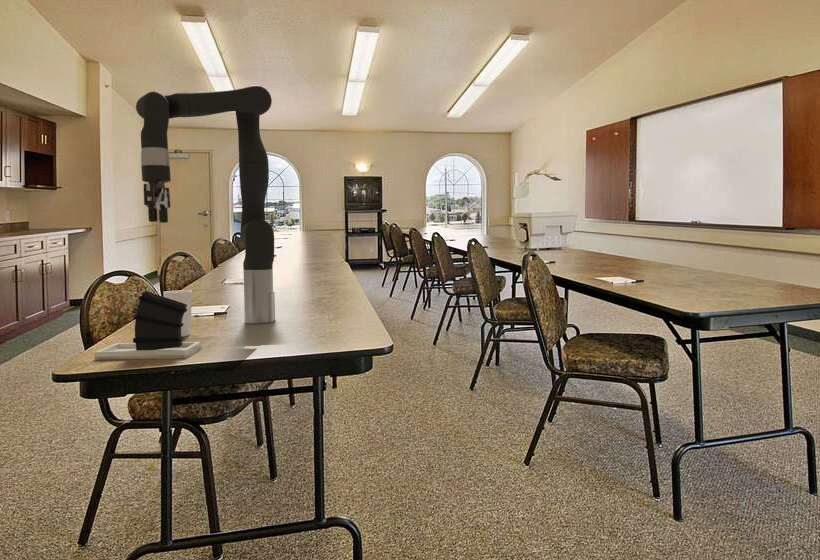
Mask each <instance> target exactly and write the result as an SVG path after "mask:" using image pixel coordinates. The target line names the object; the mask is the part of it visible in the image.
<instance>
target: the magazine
mask: <svg viewBox="0 0 820 560" xmlns="http://www.w3.org/2000/svg"><path fill="white" fill-rule="evenodd" d="M137 299H138V300H139V301H138V305H137V307H136V308H137V310H136V314H134V315H133V320H135V323H134V337H133V338H132V343H136V350H159V349H167V348H176V347H180V346H181V345H182V342H183V340H184V336H181V327H182V326H183V323H182V318H183V315H184V313H185V312H187V309H186V306H187V304H184V303H181V302H178V301H175V300H172V299H169V298H166V297H164V296H162V295H159V294H155V293H153V292H150V291H147V290H146V291H142V293H141V295H138V298H137Z"/></svg>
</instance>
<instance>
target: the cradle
mask: <svg viewBox="0 0 820 560" xmlns="http://www.w3.org/2000/svg"><path fill="white" fill-rule="evenodd" d="M200 348H201V349H202V342H201V341H182V345H181V346H180V347H176V348H167V349H159V350H136V343H133V342H124V343H123V342H120V343H119V342H117V343H114V344H111V345H108V346H106V347H103V348H101V349H98V350H96V351H94V361H106V360H107V361H109V360H110V361H113V360H117V361H119V360H157V359H158V360H161V359H163V360H165V359H166V360H167V359H188V358H190V356H192V355H195V353H197V352H199V351H200V350H201V349H200ZM199 349H200V350H199ZM198 350H199V351H198Z"/></svg>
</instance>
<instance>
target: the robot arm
mask: <svg viewBox="0 0 820 560" xmlns="http://www.w3.org/2000/svg"><path fill="white" fill-rule="evenodd" d="M272 100H273V99H272V96H271V94H270V92H269V91H268V90H267V88H265V87H263V86H261V85H257V84H253V85H249V86H247V87H246V86H245V87H242V88H238V89H230V90H218V91H217V90H215V91H187V92H186V91H185V92H184V91H183V92H182V91H181V92H176V93H172V94H169V95H168V94H167V95H164V94H163V93H162V92H159V91H149V92H147V93H146V94H144V95H142V96H141V97H140V98H139V99H137V101H136V104H135V109H136V114H138V116H140V117H141V118H142V119H143V127H142V129H141V130H140V146H141V149H140V151H141V152H140V167H141V180H142V182H144V183H143V205H144V206H146V208H147V209H148V212H147V213H148V214H147V215H148V221H149V222H150V223H152V222H153V223H155V222H156V223H157V222H158V221H159V223H162V224H163V223H168V222H169V214H168V213H169V211H168V210H169V209H170V208H171V197H170V196H171V195H170V188H169V187H166V185H165V184H166V183H170V182H171V179H172V178H171V177H172V176H171V160H170V153H169V142H168V141H169V139H168V128H169V122H170V119H175V118H195V117H205V116H211V115H217V114H223V113H224V114H225V113H231V112H235V119H236V126H237V131H238V132H237V136H238V139H237V140H238V172H239V175H238V176H239V187H240V189H239V190H240V198H241V220H240V239H241V240H242V243H243V244H244V249H245V250H244V260H243V261H242V262H243V263H242V264H243V265H242V267H243V271H242V273H243V302H244V303H243V304H244V305H243V306H244V307H243V308H244V323H245V324H268V323H269V324H270V323H274V321H275V320H276V304H275V303H276V299H275V297H276V296H275V295H276V294H275V291H274V275H273V271H274V270H273V267H274V265H273V264H274V259H275V232H274V228H273V227H272V225H271V224H270V223H269V222H268V221H267V220H266V212H265V205H266V204H265V202H266V197H267V192H268V188H269V181H270V179H269V177H270V173H269V172H270V168H269V166H270V165H269V157H268V154H267V151H266V149H265V146H264V143H263V140H262V138H261V134H260V133H261V132H260V116H261V115H264V114H266V113H267V112H268V111H269V110H270V109H271V107H272ZM158 218H159V219H158Z"/></svg>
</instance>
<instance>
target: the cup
mask: <svg viewBox="0 0 820 560" xmlns="http://www.w3.org/2000/svg"><path fill="white" fill-rule="evenodd" d="M162 294H163V296H162V297H166V298H169V299H172V300H175V301H178V302H181V303H184V304H187V306H186V309H187V312H185V313H184V315H183V318H182V323H183V326H182V327H181V336H183V337H186V336H190V335H191V334H192V302H193V301H192V296H193V290H188V289H184V290H183V289H182V290H178V289H176V290H167V291H163V292H162Z"/></svg>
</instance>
